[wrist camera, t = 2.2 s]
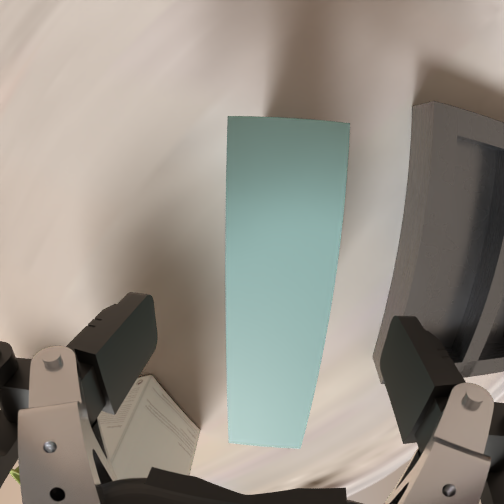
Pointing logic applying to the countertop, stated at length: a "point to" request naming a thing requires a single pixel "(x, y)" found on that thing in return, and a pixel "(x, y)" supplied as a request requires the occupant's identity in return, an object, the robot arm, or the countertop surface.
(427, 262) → the rack
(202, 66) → the countertop surface
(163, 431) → the skincare box
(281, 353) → the panel
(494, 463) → the robot arm
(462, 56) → the countertop surface
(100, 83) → the countertop surface
